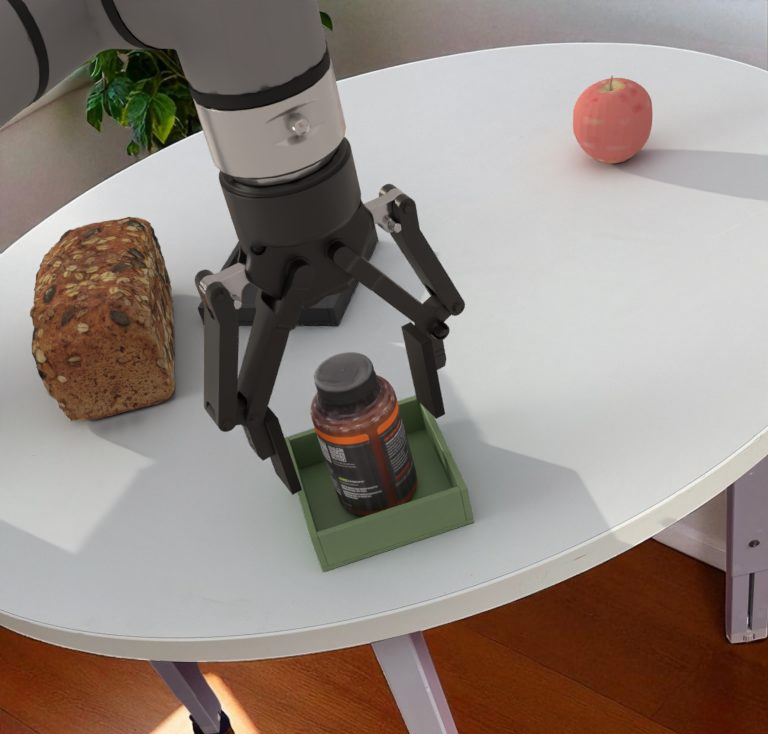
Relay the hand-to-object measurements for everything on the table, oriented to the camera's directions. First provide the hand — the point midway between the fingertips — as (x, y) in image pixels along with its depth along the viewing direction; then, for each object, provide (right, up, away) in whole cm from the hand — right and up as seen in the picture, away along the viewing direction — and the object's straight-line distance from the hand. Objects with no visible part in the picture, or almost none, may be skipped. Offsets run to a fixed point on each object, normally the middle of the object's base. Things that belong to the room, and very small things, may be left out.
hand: (361, 443), depth 74 cm
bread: (-22, +9, +23) cm, 33 cm away
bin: (+1, -4, +3) cm, 5 cm away
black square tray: (-7, +17, +25) cm, 31 cm away
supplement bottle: (+1, -3, +3) cm, 5 cm away
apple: (+24, +29, +29) cm, 48 cm away
